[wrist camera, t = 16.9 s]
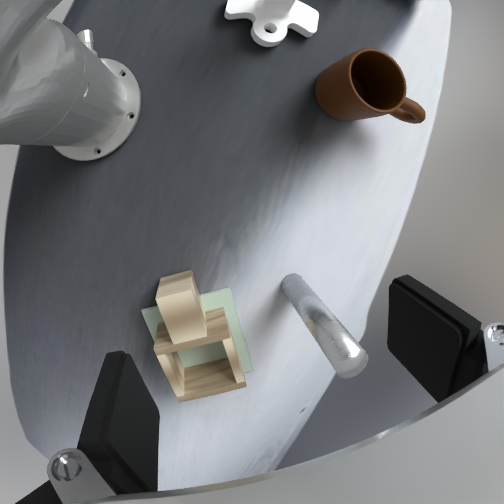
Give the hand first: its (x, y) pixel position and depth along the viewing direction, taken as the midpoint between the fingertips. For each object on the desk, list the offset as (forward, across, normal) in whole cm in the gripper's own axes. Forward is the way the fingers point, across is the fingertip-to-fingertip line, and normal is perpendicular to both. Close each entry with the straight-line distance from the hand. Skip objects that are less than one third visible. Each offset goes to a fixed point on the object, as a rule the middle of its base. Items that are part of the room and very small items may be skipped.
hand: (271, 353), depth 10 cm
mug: (+28, -20, -10) cm, 36 cm away
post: (+28, -8, +12) cm, 31 cm away
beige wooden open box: (+28, +6, +14) cm, 32 cm away
